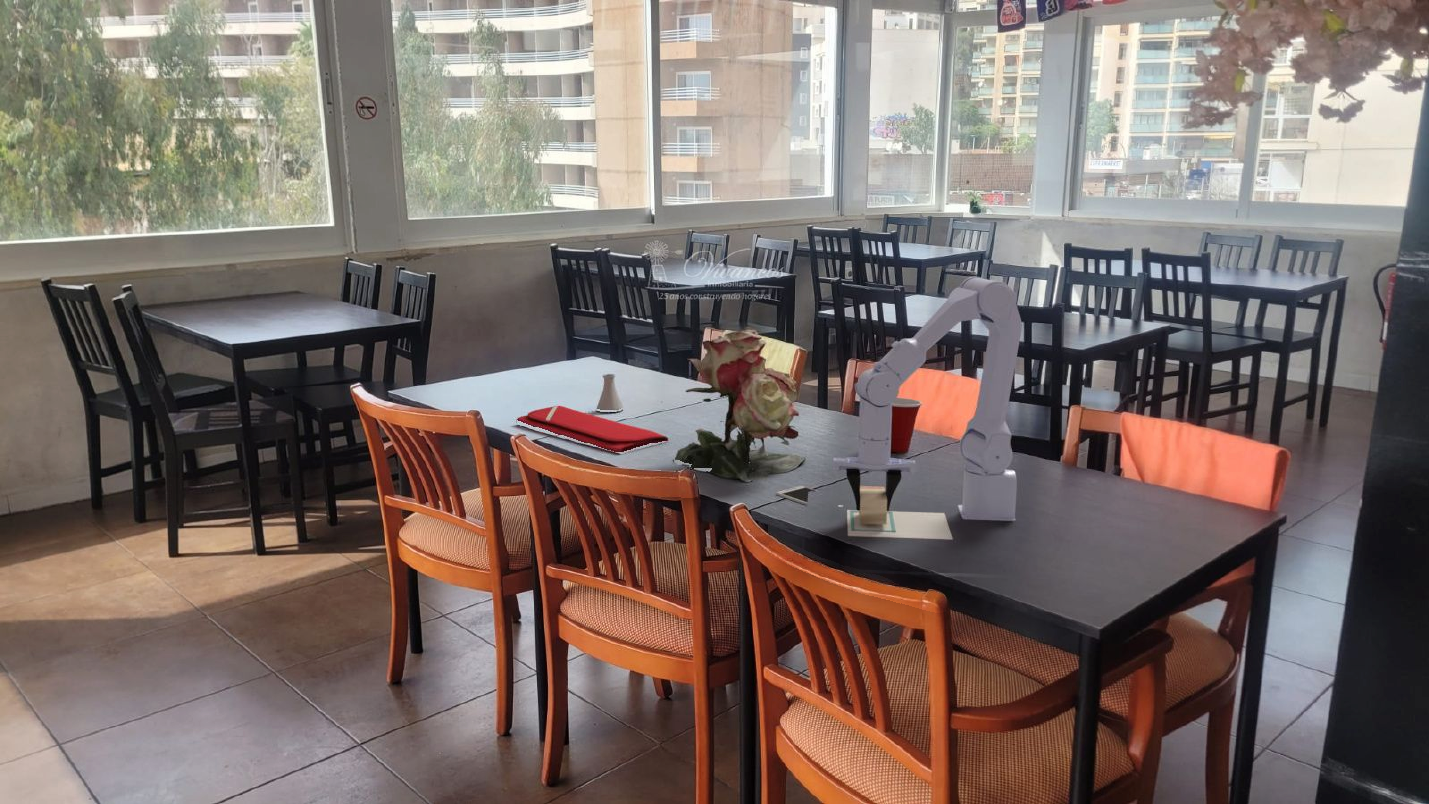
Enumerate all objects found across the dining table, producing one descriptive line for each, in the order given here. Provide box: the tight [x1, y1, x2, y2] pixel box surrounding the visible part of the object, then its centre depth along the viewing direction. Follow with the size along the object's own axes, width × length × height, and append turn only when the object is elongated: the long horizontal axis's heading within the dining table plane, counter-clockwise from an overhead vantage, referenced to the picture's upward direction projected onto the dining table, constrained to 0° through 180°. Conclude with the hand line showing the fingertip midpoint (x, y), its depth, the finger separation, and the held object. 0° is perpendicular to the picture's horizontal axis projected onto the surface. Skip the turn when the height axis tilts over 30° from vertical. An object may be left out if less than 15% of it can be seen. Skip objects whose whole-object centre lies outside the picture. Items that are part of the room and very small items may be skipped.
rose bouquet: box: [660, 326, 807, 483], centre depth 219 cm, size 26×29×30 cm
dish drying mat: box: [516, 405, 669, 452], centre depth 248 cm, size 16×41×4 cm, turn 46°
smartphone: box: [775, 485, 844, 508], centre depth 196 cm, size 7×15×1 cm, turn 39°
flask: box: [596, 373, 624, 410], centre depth 272 cm, size 7×7×10 cm
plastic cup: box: [890, 397, 923, 454], centre depth 231 cm, size 11×11×12 cm
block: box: [859, 485, 887, 524], centre depth 182 cm, size 8×5×4 cm, turn 174°
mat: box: [846, 509, 954, 541], centre depth 181 cm, size 18×14×1 cm
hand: (872, 509), depth 182 cm, fingers closed on block, 4 cm apart
